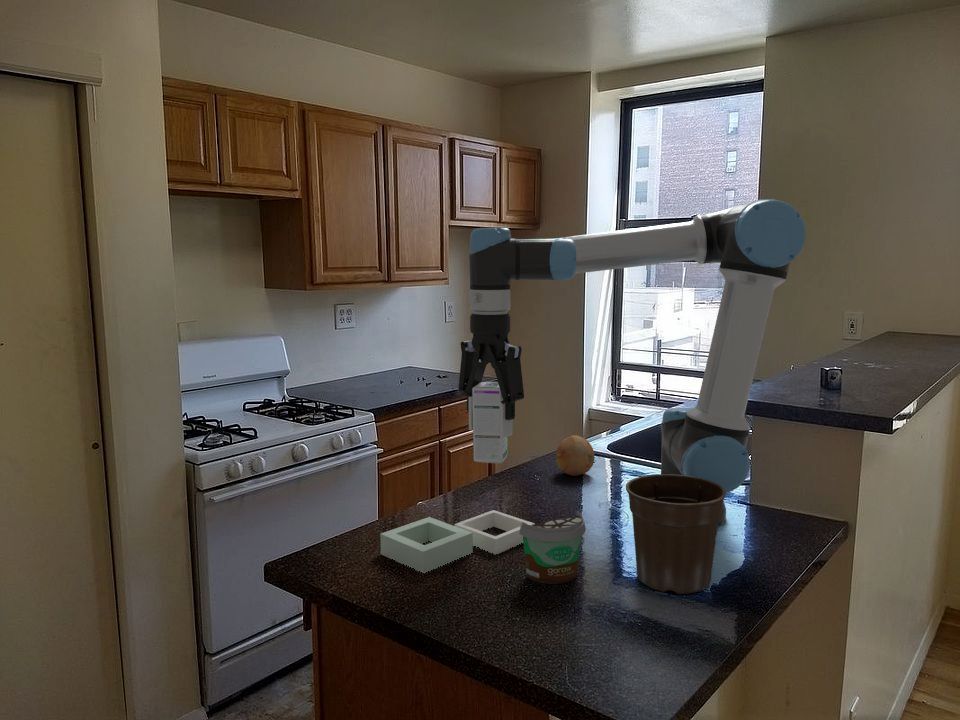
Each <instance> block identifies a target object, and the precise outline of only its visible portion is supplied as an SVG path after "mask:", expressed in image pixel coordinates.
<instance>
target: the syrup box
mask: <svg viewBox="0 0 960 720" xmlns="http://www.w3.org/2000/svg"><path fill="white" fill-rule="evenodd" d="M472 397H473V430H472V443H473V444H472V449H473V450H472V451H473V461H474V463H475V462H476V463H483V464H484V463H485V464H487V463H488V464H503V463H504V461H505V460H506V458H507V457H508V455H509V445H508V444H509V436H508V437H504V438H501V437H500V403H501V401H503V398H502V394H501V391H500V387H499V384H498V381H481V382H479V383H478V385H476V386H475V387H473V388H472Z"/></svg>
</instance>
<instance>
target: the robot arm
mask: <svg viewBox="0 0 960 720" xmlns="http://www.w3.org/2000/svg"><path fill="white" fill-rule="evenodd" d="M806 235H807V230H806V224H805V222H804V219H803V217H802V216H801V214H800V213H799V211H798V210H797V209H796V208H795V207H793V206H792V205H791V204H789V203H787V202H786V201H783V200H777V199H767V198H766V199H765V198H762V199H761V198H760V199H757V200H754V201H752V202H747V203H741V204H738V205H735V206H733V207H730V208H727V209H723V210H719V211H716V212H712V213H707V214H706V213H705V214H700V215H698V214H697V215H695V216H694V217H693V219H692V220H691V221H684V222H678V223H677V222H676V223H675V222H674V223H668V224H660V225H652V226H645V227H644V226H643V227H637V228H629V229H628V228H627V229H621V230H613V231H612V230H611V231H604V232H595V233H589V234H580V235H573V236H565V237H564V236H563V237H556V238H528V239H527V238H525V239H523V238H521V239H519V238H512V235H511V230H510V229H509V228H508V227H480V228H479V227H478V228H474V229H473V230H472V231H471V232H470V235H469V236H470V237H469V253H468V254H469V255H468V257H469V285H470V286H469V303H470V305H469V309H470V311H472V312H473V313H471V314H470V315H469V331H470V333H471V334H472V339H470V340H463V341H460V350H461V360H460V369H459V378H458V379H459V380H458V381H459V382H458V391H459V392H462V393H464V394H465V396H466V410H467V412H468V430H469V431H473V397H472V388H473V387H475V386H476V385H478V383H479V382H483V377H484V374H485V371H486V368H487V366H488V364H489V363H490V366H491V368H492V369H494V373H495V377H496V380H497V382H498V384H499V387H500V391H501V394H502V398H503V401H501V403H500V437H501V438H504V437H508V438H509V437H511V436H513V434H514V433H513V430H514V429H513V427H514V426H513V425H514V424H513V423H514V422H513V421H514V419H515V417H516V402H517V401H520V400H523V399H524V398H525V391H524V382H523V381H524V380H523V374H522V372H523V371H522V363H521V357H522V356H521V355H522V346H521V345H512V344H510V341H509V339H508V338H509V336H508V335H509V333H510V332H511V314H510V313H508V312H509V311H511V281H521V280H522V281H524V280H526V281H555V282H558V281H566V280H568V281H569V280H572V279H574V278H575V276H576V275H577V274H583V273H593V272H600V271H602V272H603V271H610V270H618V269H627V268H637V267H644V266H652V265H661V264H662V265H663V264H670V263H671V264H672V263H677V262H679V263H680V262H686V261H695V262H696V263H697V264H699V265H705V264H706V265H707V264H719V272H720V273H721V275H722V276H723V278H724V285H723V288H722V289H723V291H722V294H721V298H720V303H719V306H718V307H719V308H718V311H717V315H716V320H715V326H714V328H713V335H712V338H711V342H710V347H709V350H708V356H707V358H706V359H707V361H706V364H705V369H704V373H703V377H702V381H701V385H700V386H701V387H700V390H699V395H698V398H697V399H698V400H697V403H696V406H694V407H673V408H668V409H665V410H664V411H663V414H662V421H661V423H660V424H661V451H660V452H661V454H660V455H661V457H660V458H661V459H660V474H674V475H686V476H693V477H699V478H703V479H707V480H710V481H712V482H715V483H717V484H719V485H721V486H722V487H724V488H725V490H726V494H728V493H729V494H730V492H733V491H734V490H737V489H738V488H739V487H741V486H742V484H744V482H745V481H746V479H747V477H748V476H749V473H750V469H751V459H750V455H749V453H748V450H747V449H746V448H747V444H748V440H749V439H748V438H749V434H750V430H751V425H750V424H749V422H748V421H747V420H746V418H745V414H746V410H747V406H748V401H749V395H750V392H751V388H752V384H753V380H754V376H755V373H756V368H757V367H756V366H757V365H758V364H757V363H758V359H759V355H760V351H761V346H762V343H763V339H764V334H765V330H766V325H767V321H768V318H769V317H768V316H769V313H770V309H771V305H772V301H773V296H774V292H775V289H776V288H777V287H779V286H781V285H782V284H784V283H785V282H786V281H787V277H788V273H789V269H790V265H791V262H792V261H794V259H796V258H797V256H799V254H800V253H801V252H802V250H803V248H804V245H805V244H806V243H805V242H806V239H807V238H806V237H807V236H806ZM726 521H727V507H726V504H725V499H723V503H722V510H721V516H720V518H719V519H718V526H717V527H719V526H721V525H723V524H724V523H725V522H726Z"/></svg>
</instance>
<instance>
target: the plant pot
mask: <svg viewBox="0 0 960 720" xmlns="http://www.w3.org/2000/svg"><path fill="white" fill-rule="evenodd" d="M625 490H626V493H627V494H628V502H629V511H630V512H631V513H632V514H631V515H632V516H631V517H632V525H633V527H632V528H633V539H634V540H633V541H634V550H635V551H634V553H635V562H636V563H635V564H636V566H635V567H636V576H637V579H638V580H639V582H640V583H642V584H643V585H645V586H646V587H649V588H650V589H652V590H656V591H659V592H662V593H666V592H667V591H673V592H674V593H676V594H678V595H681V594H683V595H684V594H685V595H687V594H694V593H699V592H701V591H703V590H706V589H707V588H708V587H709V586H711V581H712V574H713V568H714V567H713V565H714V558H715V550H716V549H715V548H716V541H717V534H718V533H717V532H718V527H719V526H718V519H719V518H720V516H721V510H722V503H723V500H725V498H726V497H727V493H726V490H725V488H724V487H722V486H721V485H719V484H717V483H715V482H712V481H710V480H707V479H703V478H699V477H693V476H686V475H674V474H661V473H660V474H657V473H656V474H647V475H642V476H639V477H635V478H632V479H630V480H629V481H627V483H625Z"/></svg>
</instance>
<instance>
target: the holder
mask: <svg viewBox="0 0 960 720" xmlns="http://www.w3.org/2000/svg"><path fill="white" fill-rule="evenodd" d="M522 522H524V523H526V524H528V525H536V524H535V523H534V522H531V521H528V520H526V519H522V518H519V517H516V516H513V515H510V514H507V513H504V512H500V511H499V510H494V509H493V510H490V511H487V512H484V513H482V514H479V515H477V516H473V517H470V518H468V519H465V520H462V521H459V522H457V523H454V525H453V526H455V527H458V528H461V529H463V530H466V531H469V532H472V533H473V547H474V546H476V547H475V548H477V547H479V548H480V549H479V548H478V549H479V550H482V549H483V550H482V551H484V550H485V552H487V551H488V553H490V554H492V553H493V555H495V556H497V555H499V554H500V553H503V552H506V551H508V550H510V548H511V549H512V547H513V548H515V547H518V546H520V545H522V544H524V542H523V536H522V535H520V534H519V533H520V527H521V526H522ZM493 527H494V528H497V529H500V530H503V531H505V532H503V533H500V534H498V535H494V534H493V535H492V534H490V533H487V532H484V531H486V530H488V528H489V529H491V528H493ZM483 530H484V531H483ZM521 543H522V544H521ZM519 544H520V545H519ZM517 545H518V546H517ZM496 554H497V555H496Z"/></svg>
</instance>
